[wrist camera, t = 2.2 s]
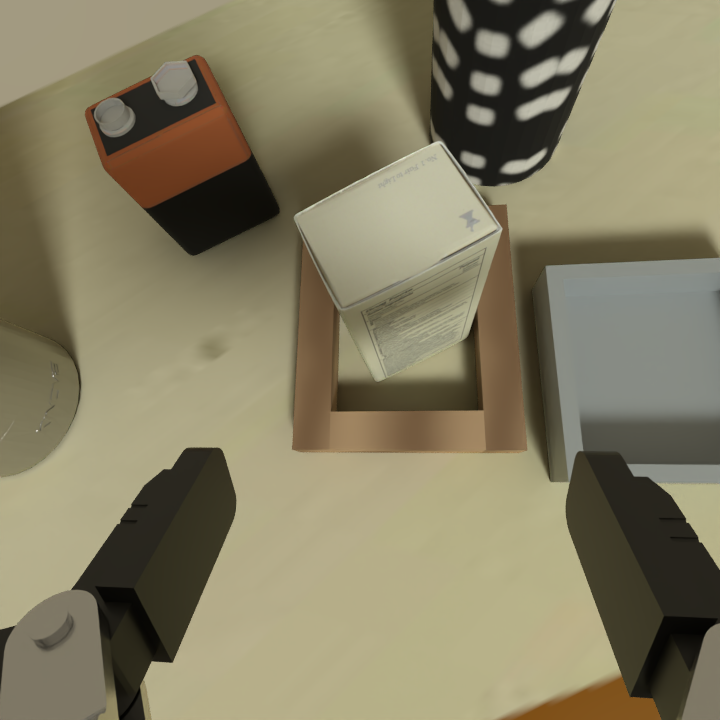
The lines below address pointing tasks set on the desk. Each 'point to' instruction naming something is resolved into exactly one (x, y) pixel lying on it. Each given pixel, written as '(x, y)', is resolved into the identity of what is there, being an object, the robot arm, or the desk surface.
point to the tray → (632, 365)
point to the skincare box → (404, 257)
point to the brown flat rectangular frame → (413, 428)
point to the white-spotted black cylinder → (509, 80)
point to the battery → (182, 155)
